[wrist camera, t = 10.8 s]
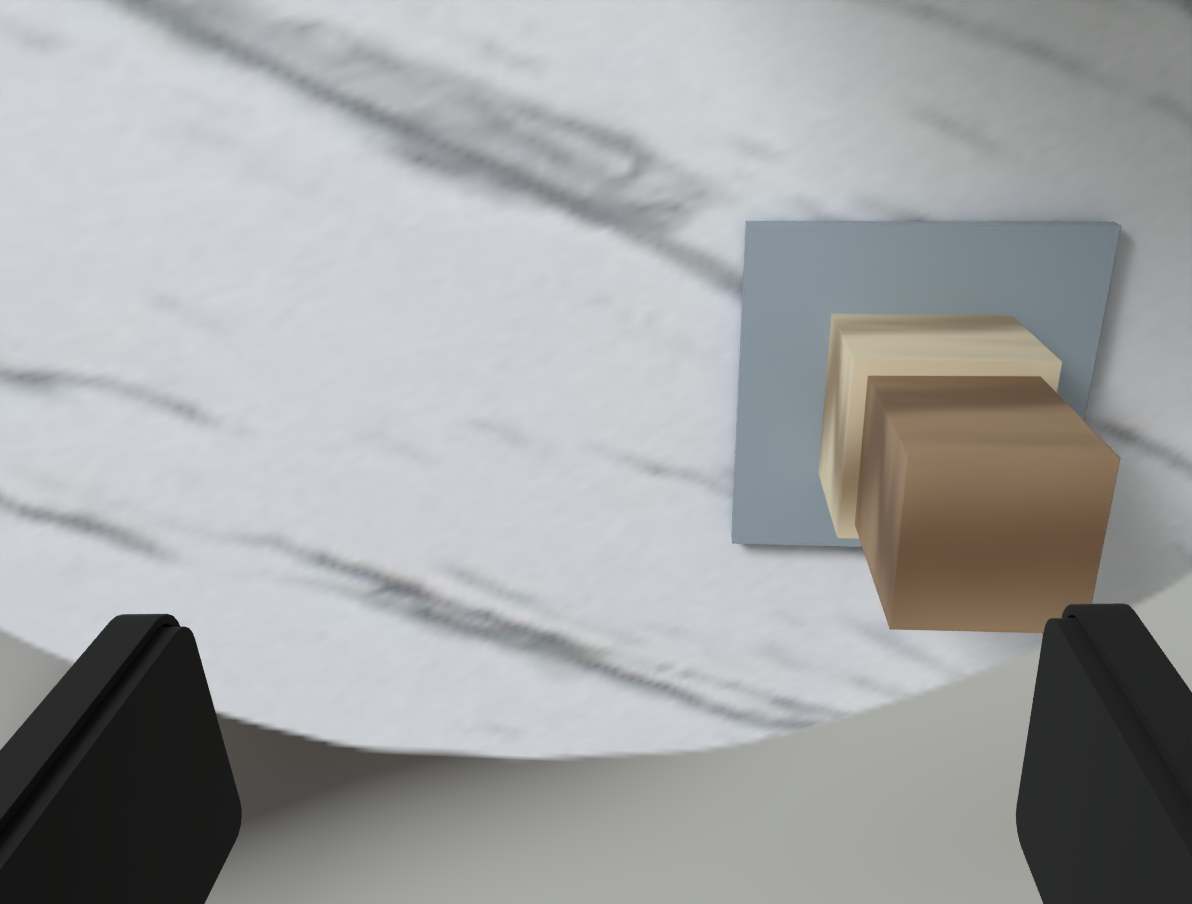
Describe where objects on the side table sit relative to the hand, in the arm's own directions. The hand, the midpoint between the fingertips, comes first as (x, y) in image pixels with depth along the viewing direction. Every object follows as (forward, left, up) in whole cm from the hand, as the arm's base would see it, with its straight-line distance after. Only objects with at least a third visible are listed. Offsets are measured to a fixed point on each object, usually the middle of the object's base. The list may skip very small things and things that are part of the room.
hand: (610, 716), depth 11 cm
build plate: (+5, +9, -26) cm, 28 cm away
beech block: (+5, +9, -25) cm, 27 cm away
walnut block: (+5, +9, -20) cm, 23 cm away
